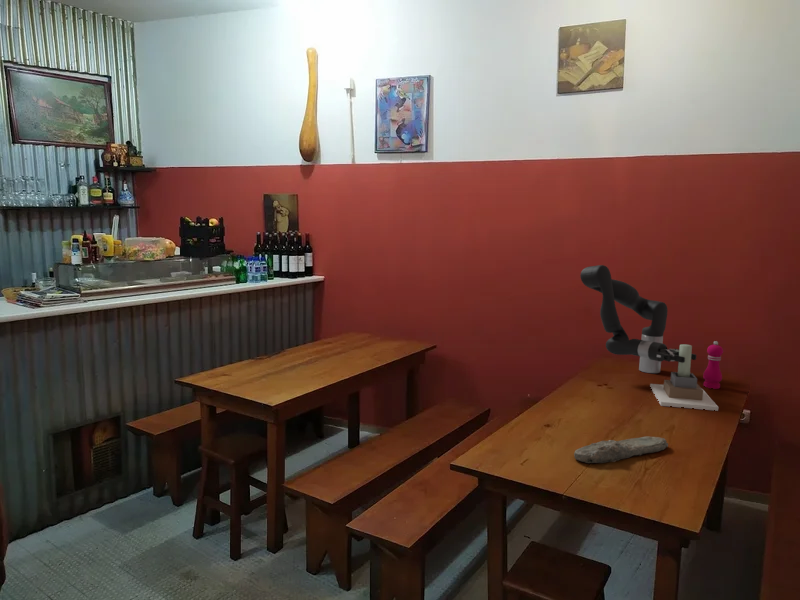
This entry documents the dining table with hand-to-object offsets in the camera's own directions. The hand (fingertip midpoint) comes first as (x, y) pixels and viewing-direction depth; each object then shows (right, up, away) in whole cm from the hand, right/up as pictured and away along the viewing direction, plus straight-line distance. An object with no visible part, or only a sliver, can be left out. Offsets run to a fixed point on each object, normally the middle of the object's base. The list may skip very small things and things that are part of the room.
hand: (690, 358), depth 236 cm
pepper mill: (+19, -14, +21) cm, 32 cm away
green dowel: (-1, -11, +3) cm, 11 cm away
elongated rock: (-47, -24, -53) cm, 75 cm away
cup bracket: (-1, -16, +4) cm, 17 cm away
